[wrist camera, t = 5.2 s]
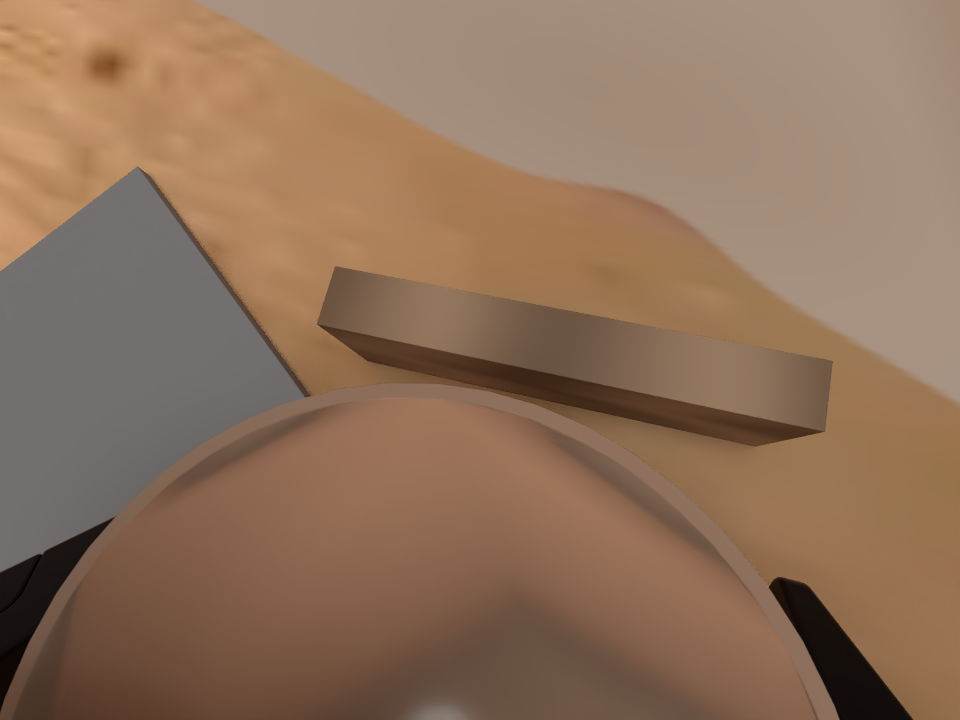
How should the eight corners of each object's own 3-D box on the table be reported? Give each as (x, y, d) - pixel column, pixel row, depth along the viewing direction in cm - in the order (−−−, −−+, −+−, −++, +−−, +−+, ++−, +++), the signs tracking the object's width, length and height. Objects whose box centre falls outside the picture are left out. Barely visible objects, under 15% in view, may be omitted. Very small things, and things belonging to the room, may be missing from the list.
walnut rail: (762, 392, 16) (832, 360, 12) (755, 446, 15) (824, 431, 12) (380, 314, 18) (335, 266, 14) (367, 360, 18) (317, 324, 14)
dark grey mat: (326, 418, 17) (318, 415, 17) (18, 670, 17) (-1, 676, 16) (149, 175, 20) (137, 166, 20) (-116, 379, 20) (-136, 375, 19)
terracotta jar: (646, 574, 15) (1138, 984, 3) (504, 699, 15) (258, 1875, 2) (525, 431, 16) (454, 235, 4) (392, 543, 16) (-156, 729, 4)
